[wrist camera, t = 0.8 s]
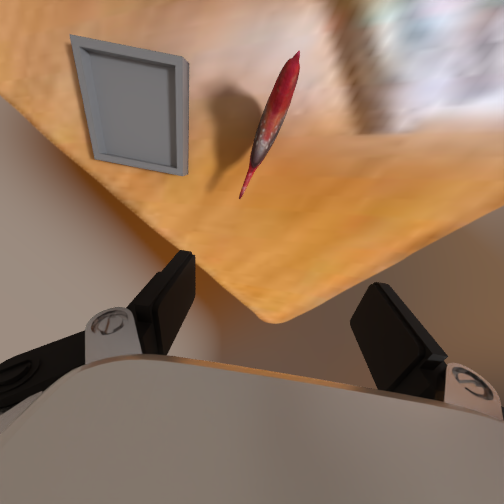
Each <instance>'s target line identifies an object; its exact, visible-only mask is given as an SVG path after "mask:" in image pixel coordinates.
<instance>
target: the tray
mask: <svg viewBox="0 0 504 504" xmlns="http://www.w3.org/2000/svg"><path fill="white" fill-rule="evenodd" d="M70 39H71V44H72V49H73V54H74V59H75V64H76V69H77V74H78V79H79V84H80V89H81V94H82V99H83V104H84V109H85V114H86V118H87V123H88V128H89V133H90V138H91V143H92V148H93V153H94V158H95V159H97V160H102V161H107V162H112V163H118V164H123V165H128V166H133V167H138V168H143V169H149V170H154V171H159V172H164V173H169V174H175V175H180V176H185V175H187V174H188V134H189V63H188V62H187V61H186V60H185V59H184V58H183V57H182V56H176V55H171V54H166V53H161V52H156V51H151V50H146V49H141V48H136V47H131V46H126V45H121V44H116V43H111V42H106V41H101V40H96V39H91V38H86V37H81V36H76V35H71V34H70Z"/></svg>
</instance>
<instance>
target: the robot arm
mask: <svg viewBox="0 0 504 504" xmlns="http://www.w3.org/2000/svg"><path fill="white" fill-rule="evenodd" d="M194 298H195V255H192V252H190V251H184V250H180V251H179V252H178V253H177V254H176V255H175V256H174V258H173V259H172V260H171V261H170V262H169V263H168V265H167V266H166V267H165V268H164V269H163V270H162V272H158V273H156V275H155V276H154V277H153V278H152V279H151V280H150V281H149V283H148V284H147V285H146V286H145V287H144V288H143V289H142V290H141V292H140V293H139V294H138V295H137V296H136V297H135V298H134V300H133V301H132V302H131V303H130V304H129V305H128V307H126V308H123V307H115V308H110V309H107V310H104V311H102V312H100V313H98V314H96V315H95V316H94V317H93V318H91V319H90V321H89V322H88V323H87V325H86V329H85V331H82V332H79V333H77V334H74V335H71V336H68V337H66V338H63V339H60V340H58V341H55V342H52V343H50V344H47V345H44V346H41V347H39V348H36V349H33V350H31V351H28V352H25V353H22V354H20V355H17V356H15V357H12V358H10V359H8V360H6V361H4V362H3V363H1V364H0V504H504V407H502V406H501V403H500V399H499V396H498V394H497V392H496V391H495V390H494V388H493V387H492V386H491V385H490V384H489V383H488V382H487V381H486V380H485V379H484V378H483V377H481V376H480V375H479V374H477V373H476V372H474V371H473V370H471V369H469V368H468V367H465V366H464V365H460V364H458V363H450V364H448V365H446V363H445V362H444V360H445V359H446V358H447V357H448V356H447V354H446V353H445V352H444V351H443V350H442V348H441V347H440V346H439V345H438V344H437V342H436V341H435V340H434V339H433V337H432V336H431V335H430V334H429V333H428V332H427V330H426V329H425V328H424V327H423V325H422V324H421V323H420V322H419V321H418V319H417V318H416V317H415V316H414V314H413V313H412V312H411V311H410V310H409V309H408V307H407V306H406V305H405V304H404V302H403V301H402V300H401V299H400V298H399V296H398V295H397V294H396V293H395V292H394V290H393V289H392V288H391V287H390V286H389V285H388V284H385V283H379V282H375V283H373V284H371V285H370V286H369V287H368V289H367V291H366V293H365V294H364V296H363V298H362V300H361V302H360V304H359V305H358V307H357V309H356V311H355V313H354V314H353V316H352V318H351V320H350V325H351V328H352V330H353V333H354V335H355V337H356V340H357V342H358V344H359V347H360V349H361V351H362V354H363V356H364V358H365V361H366V363H367V365H368V368H369V370H370V372H371V374H372V377H373V379H374V381H375V384H376V386H377V388H378V389H372V388H366V387H360V386H355V385H349V384H343V383H337V382H331V381H325V380H319V379H313V378H308V377H302V376H295V375H289V374H284V373H278V372H272V371H266V370H260V369H254V368H247V367H241V366H235V365H228V364H223V363H217V362H210V361H204V360H197V359H190V358H183V357H176V356H167V353H168V351H169V350H170V347H171V345H172V343H173V341H174V339H175V337H176V335H177V333H178V331H179V329H180V327H181V325H182V323H183V321H184V319H185V317H186V315H187V313H188V311H189V309H190V307H191V305H192V303H193V301H194Z"/></svg>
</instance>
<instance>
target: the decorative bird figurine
mask: <svg viewBox="0 0 504 504" xmlns="http://www.w3.org/2000/svg"><path fill="white" fill-rule="evenodd" d="M299 57H300V51H298V52H297V53H296V54H295V56H294V57H293V58H291V59H289V60H288V61H287V62H286V64H285V65H284V67H283V68H282V70H281V72H280V74H279V76H278V78H277V80H276V83H275V85H274V88H273V90H272V92H271V94H270V97H269V99H268V101H267V104H266V106H265V109H264V111H263V114H262V117H261V120H260V122H259V125H258V128H257V132H256V135H255V139H254V143H253V147H252V151H251V156H250V164H249V169H248V172H247V175H246V178H245V181H244V184H243V187H242V190H241V193H240V196H239V199H240V198H241V197H242V195H243V194H244V191H245V189H246V187H247V185H248V183H249V181H250V179H251V177H252V175H253V173H254V172H255V170H256V169H257V167H258V166H259V165H260V164H261V162H262V161H263V160H264V158H265V156H266V155H267V153H268V151H269V150H270V148H271V146H272V144H273V143H274V141H275V139H276V137H277V135H278V133H279V130H280V128H281V126H282V124H283V121H284V119H285V116H286V114H287V111H288V108H289V106H290V103H291V99H292V96H293V93H294V90H295V87H296V84H297V80H298V75H299V70H300V65H299Z"/></svg>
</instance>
